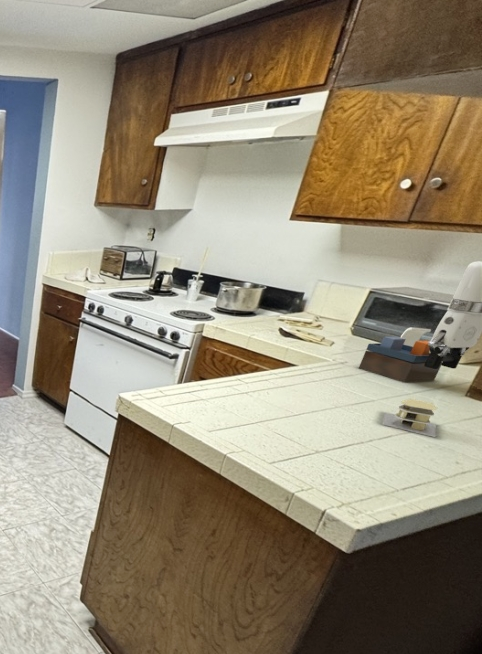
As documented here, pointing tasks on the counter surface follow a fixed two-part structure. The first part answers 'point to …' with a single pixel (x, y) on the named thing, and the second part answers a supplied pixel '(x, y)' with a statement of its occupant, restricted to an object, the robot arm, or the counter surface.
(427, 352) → the block
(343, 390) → the counter surface
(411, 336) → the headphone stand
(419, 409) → the stacked layers on plate
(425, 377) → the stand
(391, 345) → the grey-blue packet
